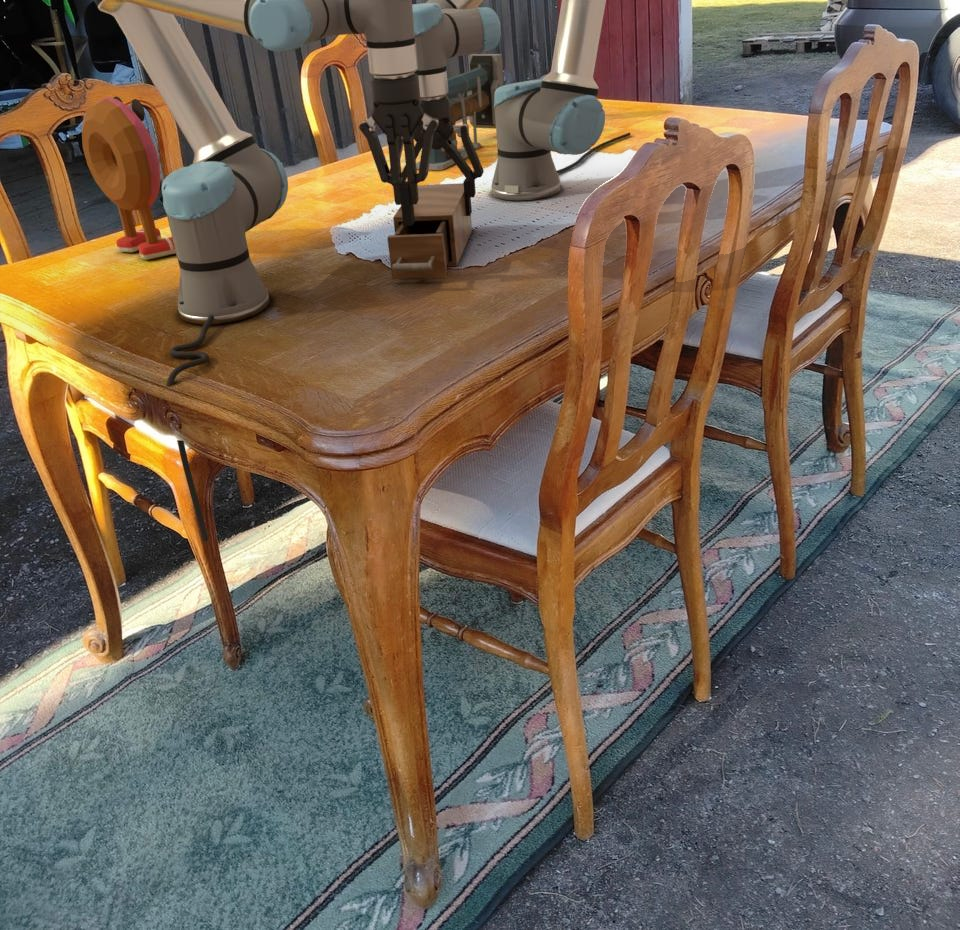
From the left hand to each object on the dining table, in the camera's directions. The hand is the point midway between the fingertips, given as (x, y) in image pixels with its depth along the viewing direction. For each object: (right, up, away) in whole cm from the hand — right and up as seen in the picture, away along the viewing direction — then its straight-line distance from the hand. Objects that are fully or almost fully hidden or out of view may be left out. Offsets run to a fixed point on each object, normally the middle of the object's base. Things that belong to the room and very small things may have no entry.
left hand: (409, 223), depth 163 cm
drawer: (+2, -4, +13) cm, 14 cm away
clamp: (+7, +41, +90) cm, 99 cm away
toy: (-55, +3, +36) cm, 66 cm away
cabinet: (+4, +1, +24) cm, 24 cm away
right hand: (+4, +8, +26) cm, 28 cm away
